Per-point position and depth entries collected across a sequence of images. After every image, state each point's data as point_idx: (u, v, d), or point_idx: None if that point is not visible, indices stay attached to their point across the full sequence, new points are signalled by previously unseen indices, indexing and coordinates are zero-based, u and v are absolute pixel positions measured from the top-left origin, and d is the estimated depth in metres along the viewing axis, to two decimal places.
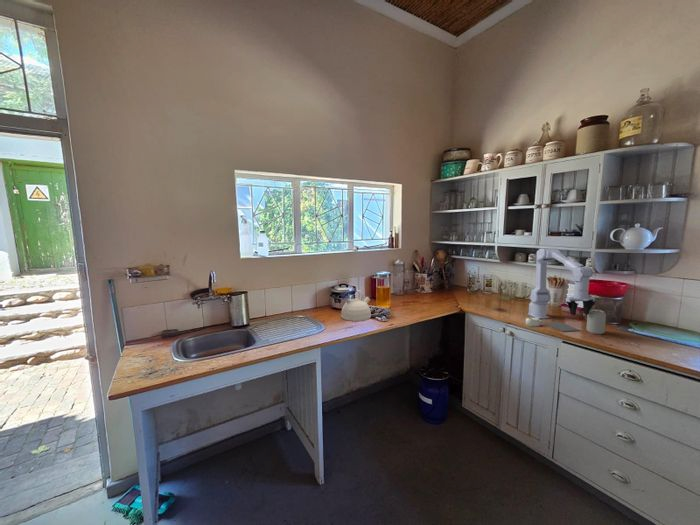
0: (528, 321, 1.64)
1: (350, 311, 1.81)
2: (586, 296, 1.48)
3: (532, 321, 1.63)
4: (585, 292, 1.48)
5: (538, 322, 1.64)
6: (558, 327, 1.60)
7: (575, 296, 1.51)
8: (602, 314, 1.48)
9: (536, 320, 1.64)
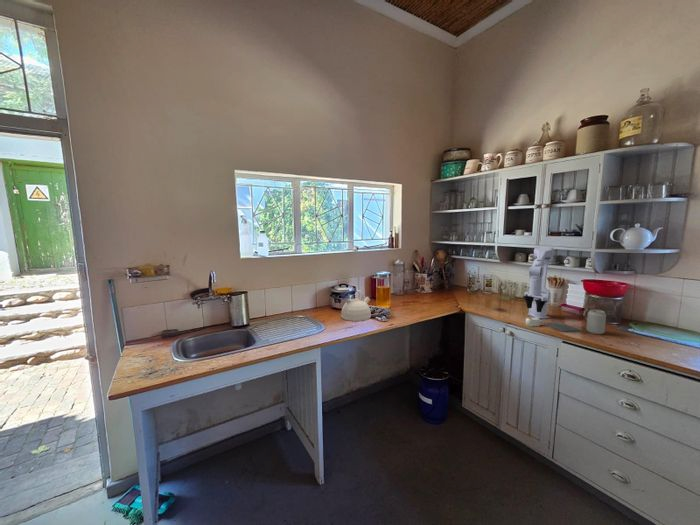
0: (528, 321, 1.64)
1: (350, 311, 1.81)
2: (530, 292, 1.63)
3: (532, 321, 1.63)
4: (530, 288, 1.63)
5: (538, 322, 1.64)
6: (558, 327, 1.60)
7: None
8: (602, 314, 1.48)
9: (536, 320, 1.64)
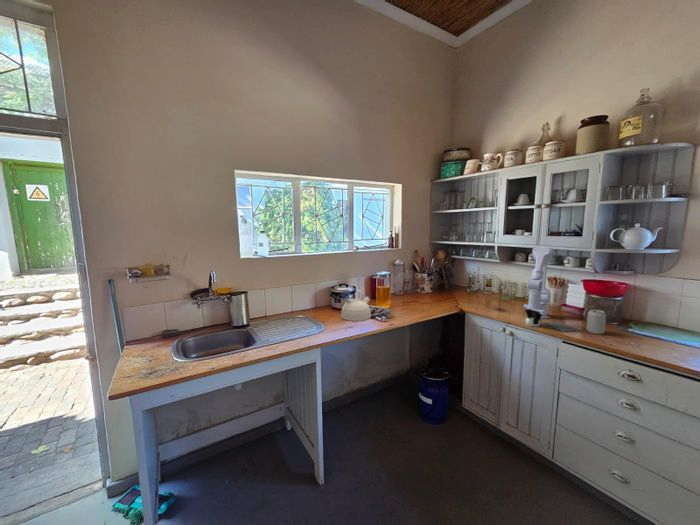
0: (528, 321, 1.64)
1: (350, 311, 1.81)
2: (530, 305, 1.63)
3: (532, 321, 1.63)
4: (529, 301, 1.64)
5: (538, 322, 1.64)
6: (558, 327, 1.60)
7: None
8: (602, 314, 1.48)
9: None
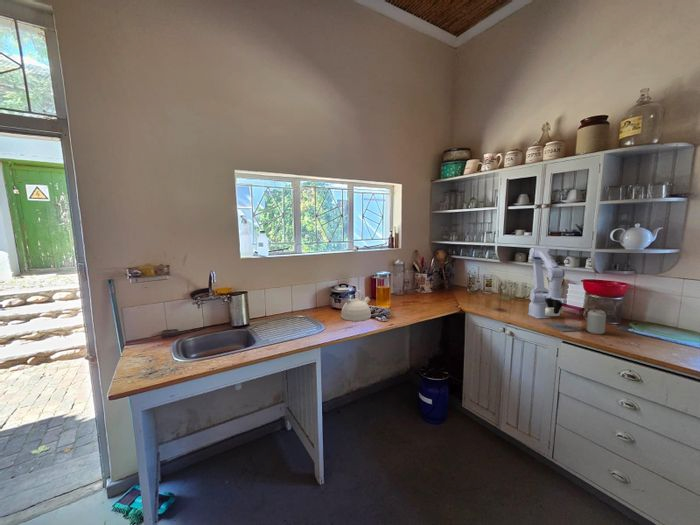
0: (548, 311, 1.60)
1: (350, 311, 1.81)
2: (550, 294, 1.60)
3: (552, 310, 1.60)
4: (549, 290, 1.61)
5: None
6: (558, 327, 1.60)
7: None
8: (602, 314, 1.48)
9: None
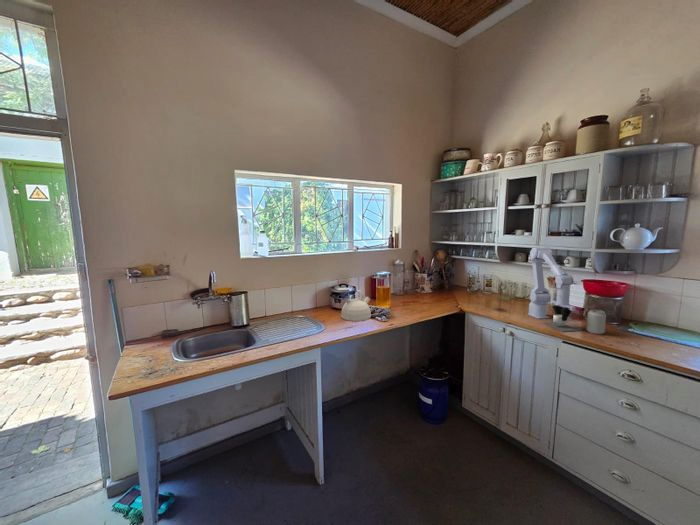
0: (556, 318, 1.60)
1: (350, 311, 1.81)
2: (558, 301, 1.59)
3: (560, 318, 1.59)
4: (557, 297, 1.60)
5: None
6: (558, 327, 1.60)
7: None
8: (602, 314, 1.48)
9: None
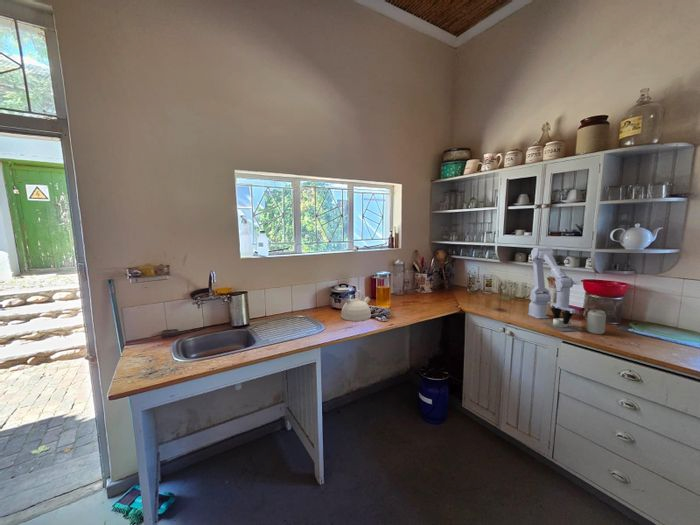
0: (556, 322, 1.60)
1: (350, 311, 1.81)
2: (558, 304, 1.60)
3: (560, 322, 1.60)
4: (557, 300, 1.60)
5: None
6: (558, 327, 1.60)
7: None
8: (602, 314, 1.48)
9: None
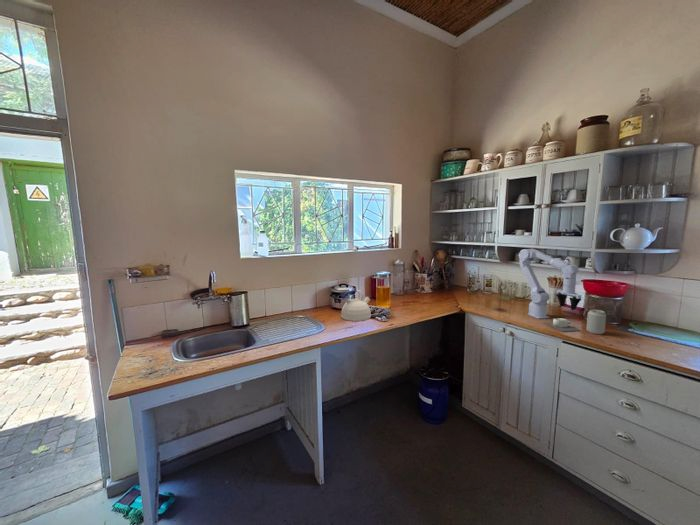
0: (556, 322, 1.60)
1: (350, 311, 1.81)
2: (564, 290, 1.64)
3: (560, 322, 1.60)
4: (564, 286, 1.65)
5: (566, 323, 1.60)
6: (558, 327, 1.60)
7: None
8: (602, 314, 1.48)
9: (564, 321, 1.60)
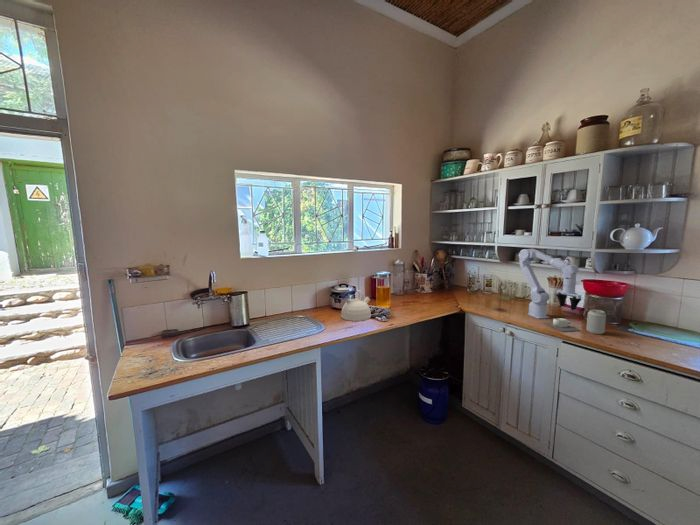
0: (556, 322, 1.60)
1: (350, 311, 1.81)
2: (564, 290, 1.64)
3: (560, 322, 1.60)
4: (564, 286, 1.65)
5: (566, 323, 1.60)
6: (558, 327, 1.60)
7: None
8: (602, 314, 1.48)
9: (564, 321, 1.60)
